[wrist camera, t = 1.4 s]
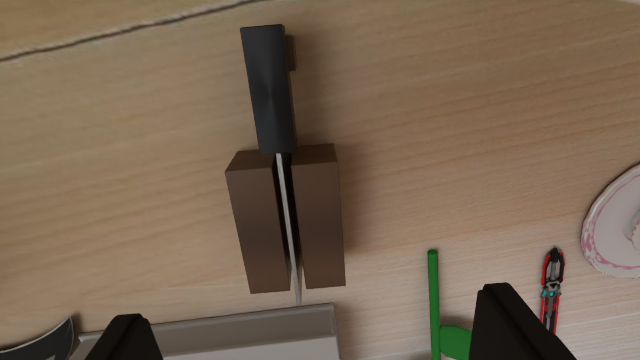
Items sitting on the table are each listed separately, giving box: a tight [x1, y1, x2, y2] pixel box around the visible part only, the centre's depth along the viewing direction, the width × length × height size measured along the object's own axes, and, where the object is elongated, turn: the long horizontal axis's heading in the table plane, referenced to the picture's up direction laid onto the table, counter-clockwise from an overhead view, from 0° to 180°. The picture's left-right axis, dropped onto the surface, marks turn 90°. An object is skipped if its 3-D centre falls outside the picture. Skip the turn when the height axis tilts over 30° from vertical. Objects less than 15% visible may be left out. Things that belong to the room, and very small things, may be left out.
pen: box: [540, 248, 565, 334], centre depth 31 cm, size 2×14×1 cm, turn 12°
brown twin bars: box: [225, 35, 346, 294], centre depth 23 cm, size 18×7×4 cm, turn 5°
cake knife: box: [240, 24, 302, 306], centre depth 23 cm, size 19×2×4 cm, turn 5°
